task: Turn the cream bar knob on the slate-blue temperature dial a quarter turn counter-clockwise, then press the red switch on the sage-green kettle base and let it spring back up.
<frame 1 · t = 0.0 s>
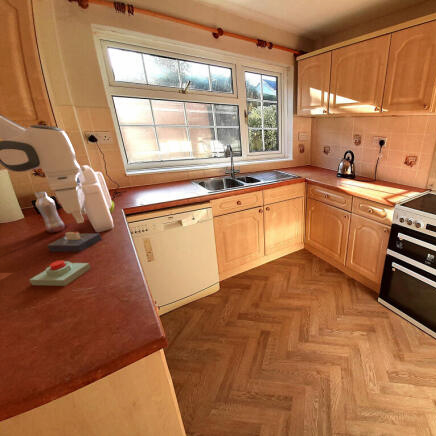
hand: (82, 218, 84), 18 cm above the countertop, tool pointing down, fingers open, 8 cm apart
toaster: (105, 225, 126), on the countertop
dial panel: (76, 245, 106), on the countertop
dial: (72, 235, 104), point 5 cm above the countertop, hinge at 0.0°
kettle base: (63, 276, 84), on the countertop
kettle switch: (57, 265, 82), point 4 cm above the countertop, slide at 0.1 cm
plastic bottle: (57, 231, 121), on the countertop
fruit: (107, 214, 141), on the countertop
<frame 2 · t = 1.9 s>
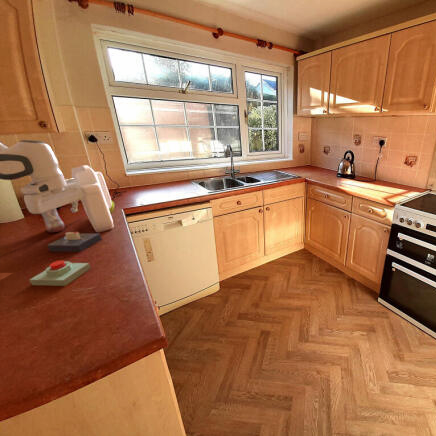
hand: (65, 216, 100), 14 cm above the countertop, tool pointing down, fingers open, 8 cm apart
nothing on the countertop moved.
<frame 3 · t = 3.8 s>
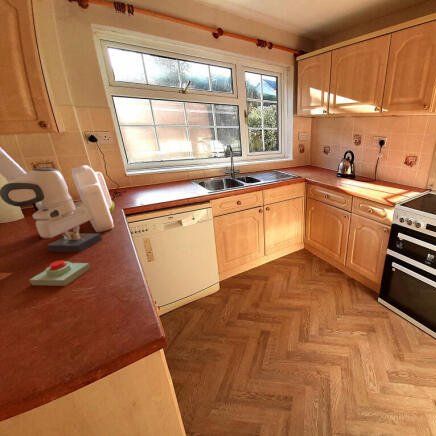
hand: (73, 237, 104), 4 cm above the countertop, tool pointing down, fingers closed on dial
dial: (72, 235, 104), point 5 cm above the countertop, hinge at -0.1°, touching gripper
everything else where it was.
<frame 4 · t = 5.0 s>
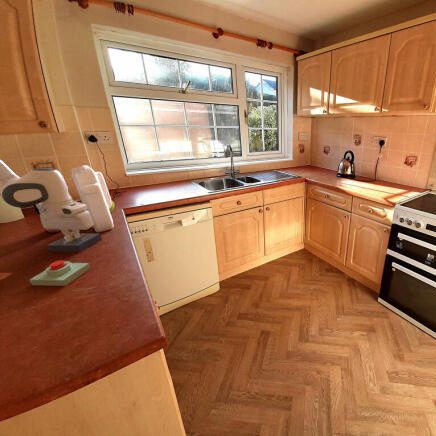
hand: (73, 237, 104), 4 cm above the countertop, tool pointing down, fingers closed
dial: (72, 235, 104), point 5 cm above the countertop, hinge at 89.4°
everything else where it was.
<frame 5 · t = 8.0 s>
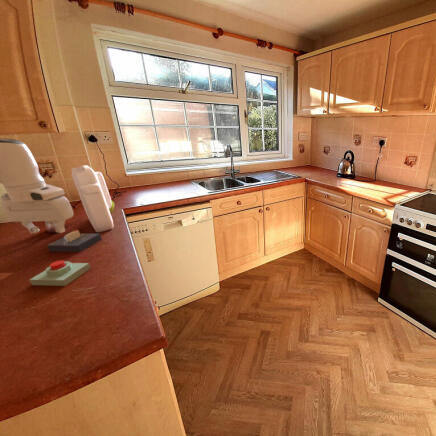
hand: (48, 232, 81), 15 cm above the countertop, tool pointing down, fingers open, 8 cm apart
nothing on the countertop moved.
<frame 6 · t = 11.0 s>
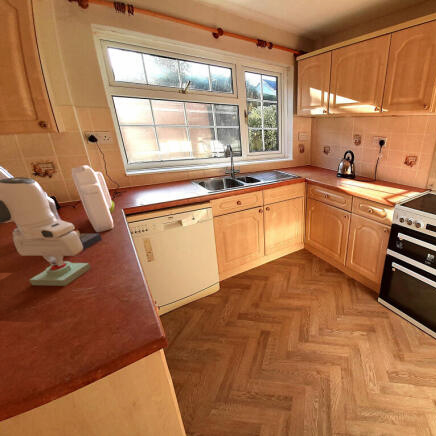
hand: (58, 265, 82), 5 cm above the countertop, tool pointing down, fingers closed, pressing on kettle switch
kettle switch: (58, 267, 83), point 4 cm above the countertop, slide at -0.8 cm, touching gripper
everything else where it was.
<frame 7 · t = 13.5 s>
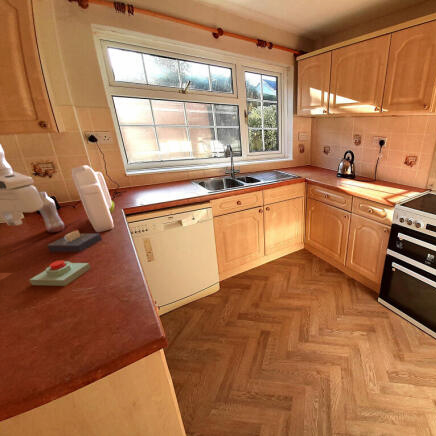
hand: (15, 224, 75), 21 cm above the countertop, tool pointing down, fingers closed
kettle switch: (57, 265, 82), point 4 cm above the countertop, slide at 0.1 cm
everything else where it was.
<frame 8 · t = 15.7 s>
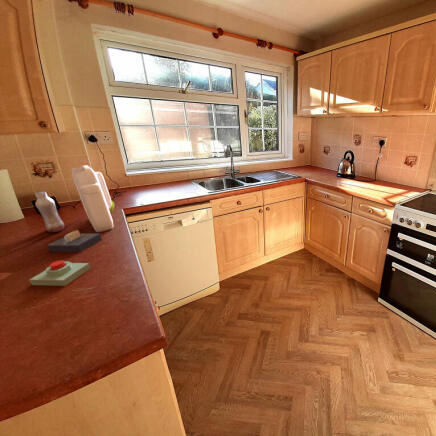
nothing on the countertop moved.
at the end: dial at +89° (first picture: +0°); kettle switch pushed in 1.0 cm at the most during the clip, back to where it started at the end; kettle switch slide at 0.1 cm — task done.
